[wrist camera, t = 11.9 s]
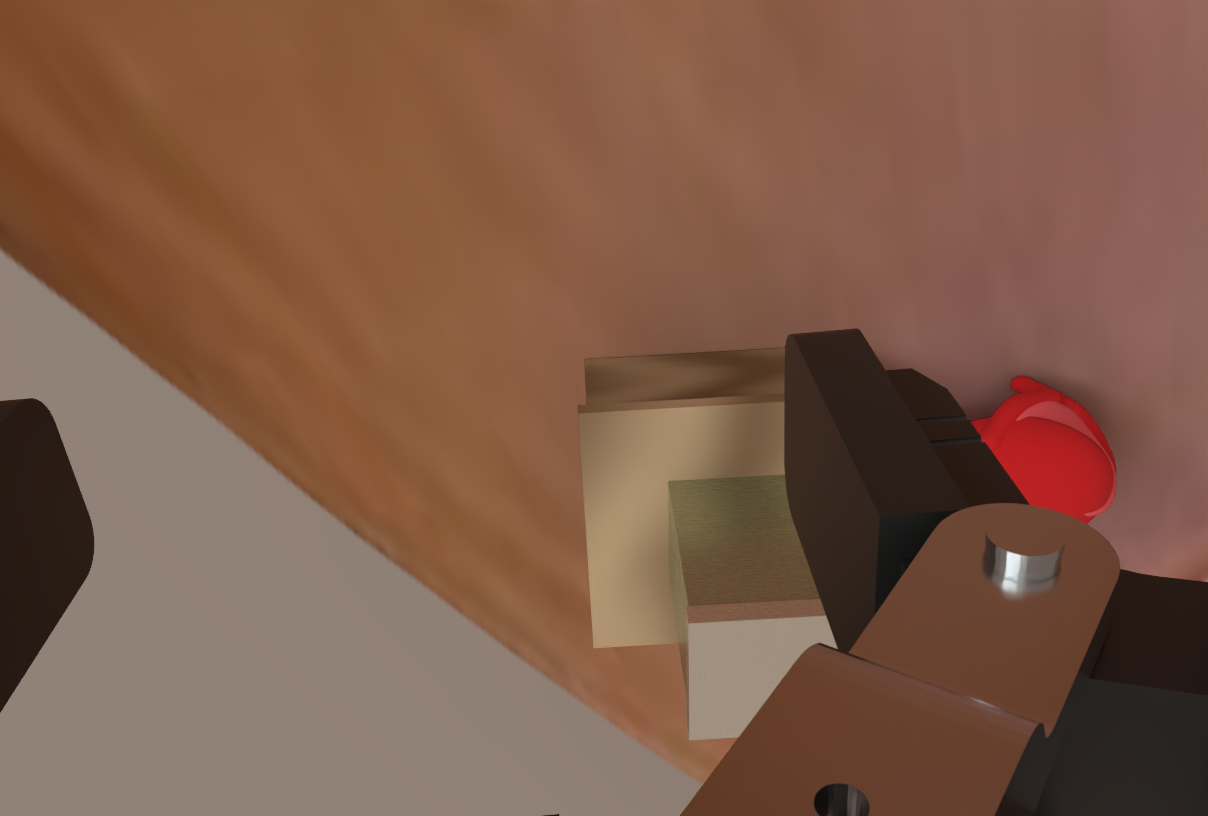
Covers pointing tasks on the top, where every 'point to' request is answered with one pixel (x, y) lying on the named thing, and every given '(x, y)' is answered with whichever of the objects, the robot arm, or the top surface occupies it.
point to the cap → (1052, 450)
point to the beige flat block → (664, 467)
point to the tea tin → (738, 597)
